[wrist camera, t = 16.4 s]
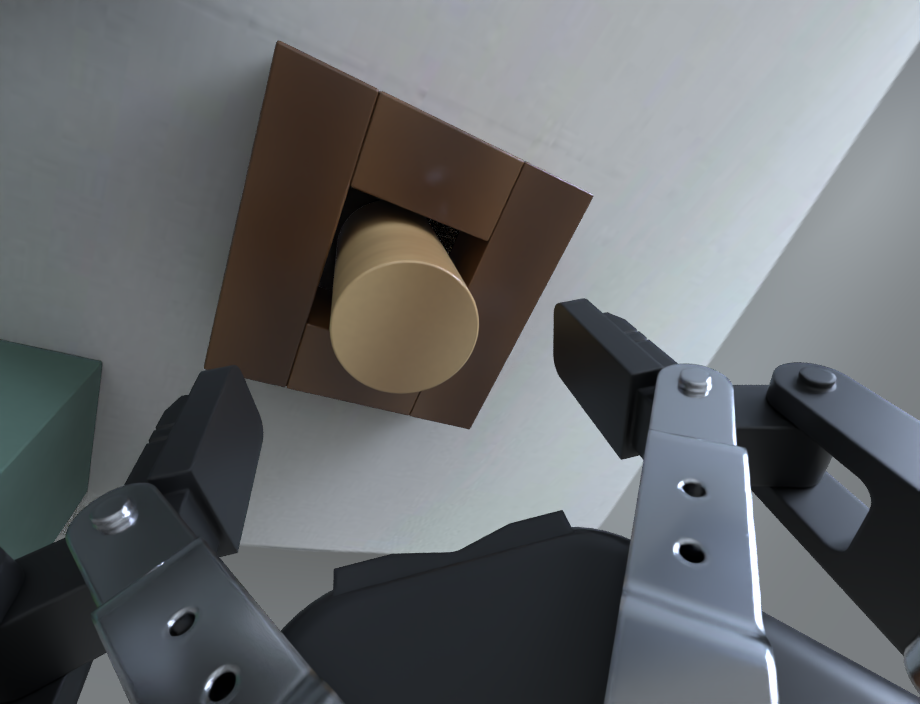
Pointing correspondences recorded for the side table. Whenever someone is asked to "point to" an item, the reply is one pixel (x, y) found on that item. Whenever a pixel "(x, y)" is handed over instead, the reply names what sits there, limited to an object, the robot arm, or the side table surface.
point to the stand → (43, 442)
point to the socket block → (396, 181)
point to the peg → (398, 302)
